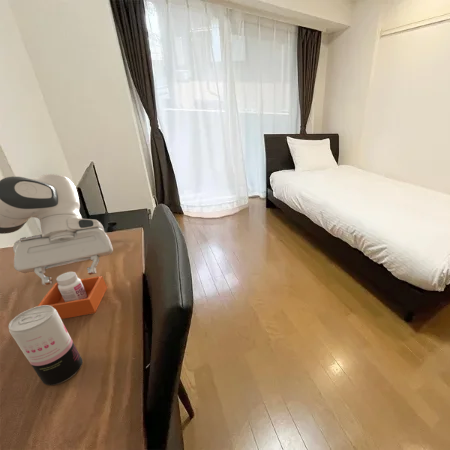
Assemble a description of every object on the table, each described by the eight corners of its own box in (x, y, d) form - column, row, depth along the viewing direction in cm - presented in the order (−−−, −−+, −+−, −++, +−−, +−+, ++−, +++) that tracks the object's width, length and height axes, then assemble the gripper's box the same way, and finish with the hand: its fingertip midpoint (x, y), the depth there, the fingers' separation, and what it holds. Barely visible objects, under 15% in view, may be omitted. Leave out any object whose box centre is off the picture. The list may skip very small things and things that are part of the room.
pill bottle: (85, 304, 72) (74, 279, 68) (63, 309, 71) (50, 283, 67) (90, 293, 76) (79, 269, 72) (70, 297, 75) (58, 272, 71)
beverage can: (49, 363, 57) (17, 310, 51) (86, 353, 60) (60, 300, 53) (37, 391, 52) (-1, 336, 45) (78, 379, 54) (47, 324, 48)
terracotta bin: (43, 322, 67) (35, 308, 65) (61, 296, 76) (55, 282, 74) (95, 312, 70) (89, 299, 68) (107, 288, 79) (102, 275, 77)
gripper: (5, 235, 67) (10, 289, 64) (104, 219, 76) (112, 265, 73) (19, 243, 72) (24, 293, 69) (109, 226, 81) (118, 270, 78)
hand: (70, 279), depth 71 cm, fingers open, 8 cm apart
